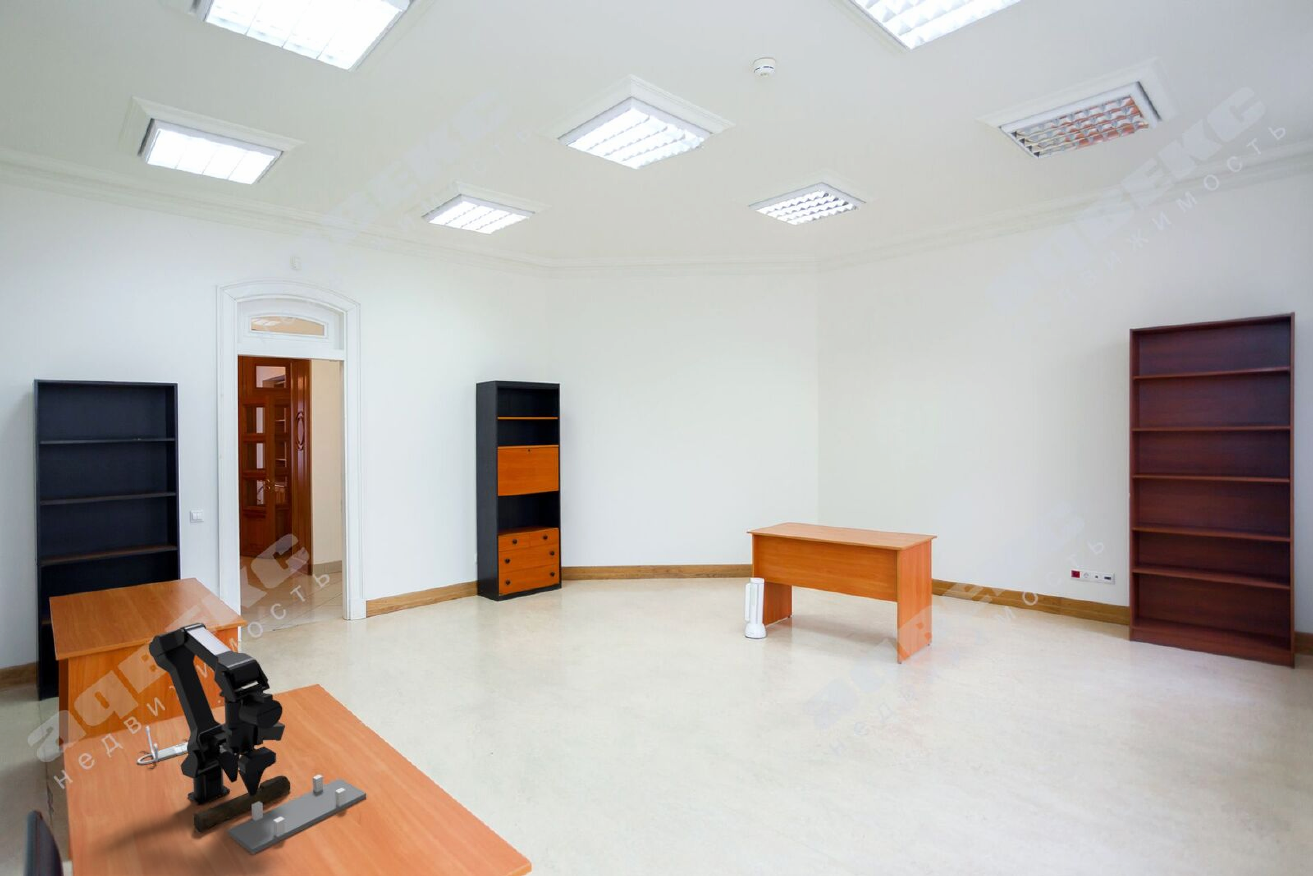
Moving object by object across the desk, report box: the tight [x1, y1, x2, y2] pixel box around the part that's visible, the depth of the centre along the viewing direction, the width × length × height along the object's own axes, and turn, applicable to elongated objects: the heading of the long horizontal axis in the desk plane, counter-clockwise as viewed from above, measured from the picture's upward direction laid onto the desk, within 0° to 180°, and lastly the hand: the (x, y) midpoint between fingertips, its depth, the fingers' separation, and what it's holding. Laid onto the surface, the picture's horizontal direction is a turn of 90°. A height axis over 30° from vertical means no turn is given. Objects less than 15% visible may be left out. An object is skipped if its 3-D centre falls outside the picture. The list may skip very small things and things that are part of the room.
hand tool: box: [193, 775, 291, 834], centre depth 150 cm, size 19×4×5 cm, turn 140°
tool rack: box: [227, 774, 367, 855], centre depth 149 cm, size 11×24×4 cm, turn 144°
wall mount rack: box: [136, 725, 191, 765], centre depth 178 cm, size 16×14×6 cm
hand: (243, 788), depth 151 cm, fingers open, 9 cm apart
